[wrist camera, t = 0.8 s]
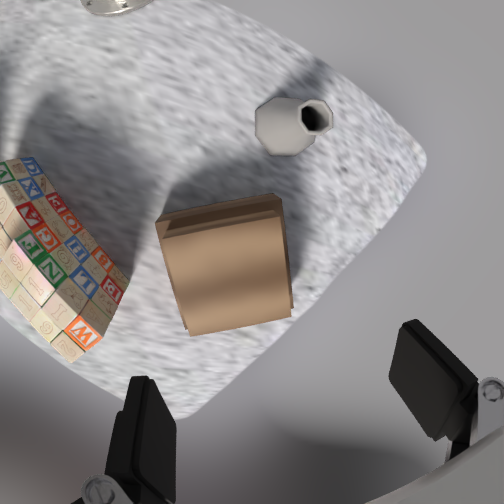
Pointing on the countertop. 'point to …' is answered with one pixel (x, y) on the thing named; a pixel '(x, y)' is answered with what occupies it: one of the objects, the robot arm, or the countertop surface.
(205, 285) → the stepped wooden pedestal
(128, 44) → the countertop surface
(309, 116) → the flask
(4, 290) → the stack of blocks
